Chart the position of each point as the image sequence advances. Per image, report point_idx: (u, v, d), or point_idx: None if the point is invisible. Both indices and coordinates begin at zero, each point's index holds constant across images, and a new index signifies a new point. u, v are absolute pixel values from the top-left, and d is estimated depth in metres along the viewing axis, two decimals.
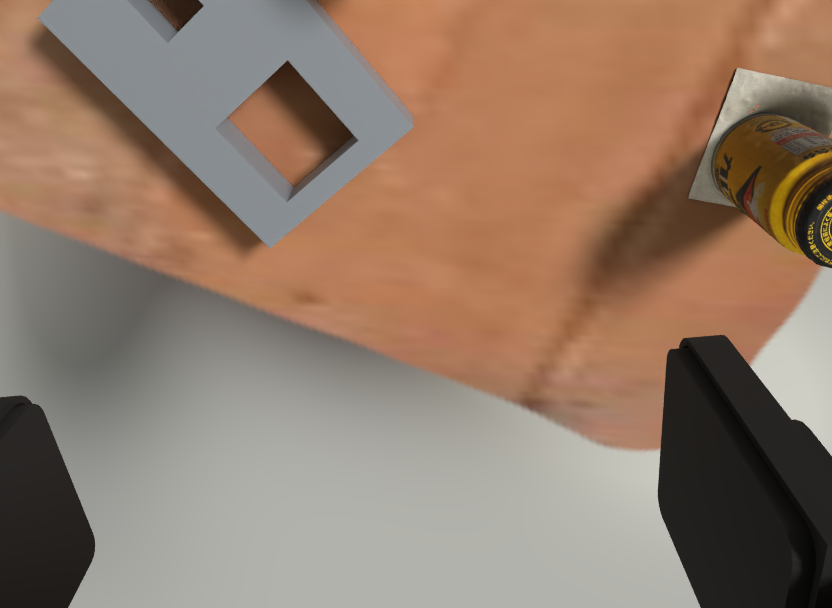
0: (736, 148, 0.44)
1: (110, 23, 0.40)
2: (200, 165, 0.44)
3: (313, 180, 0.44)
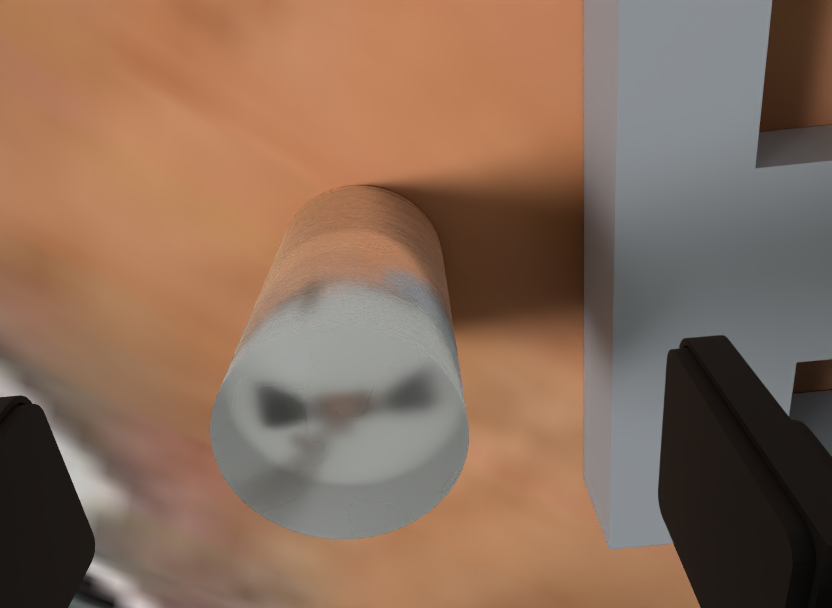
0: None
1: None
2: None
3: None
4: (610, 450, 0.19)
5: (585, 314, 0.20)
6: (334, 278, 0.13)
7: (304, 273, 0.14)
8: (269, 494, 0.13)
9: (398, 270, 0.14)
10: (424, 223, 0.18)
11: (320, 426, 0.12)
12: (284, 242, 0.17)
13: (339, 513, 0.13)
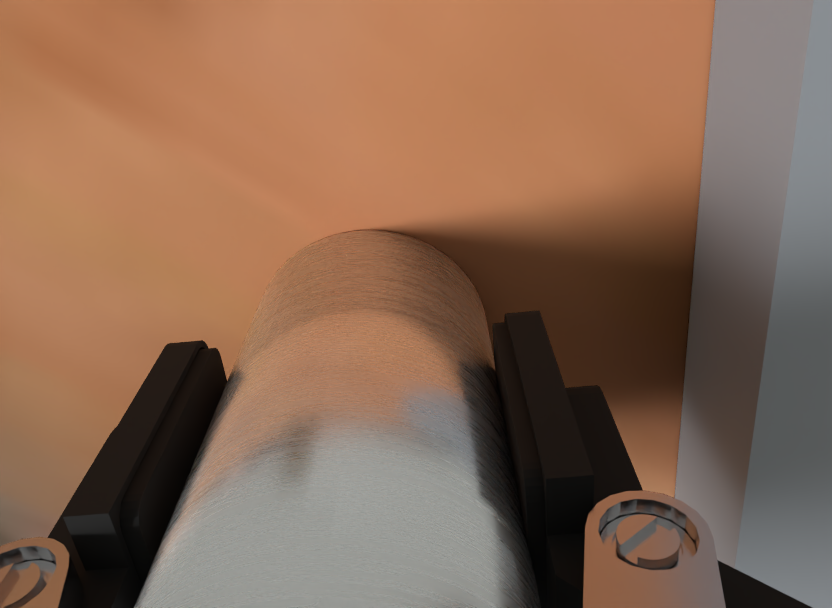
0: None
1: None
2: None
3: None
4: None
5: (685, 407, 0.14)
6: (320, 446, 0.07)
7: (273, 423, 0.08)
8: None
9: (432, 411, 0.08)
10: (464, 289, 0.12)
11: None
12: (255, 325, 0.11)
13: None
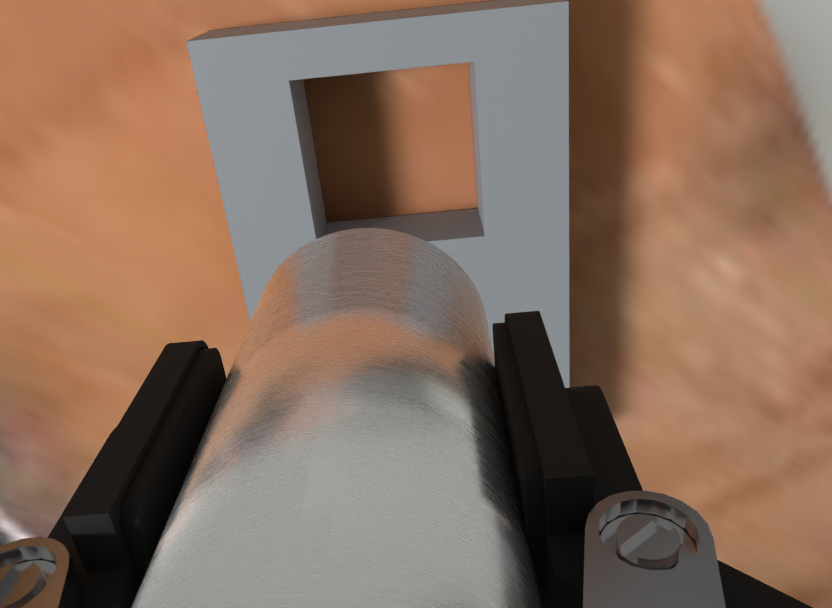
0: None
1: None
2: (550, 204, 0.25)
3: (404, 66, 0.23)
4: None
5: None
6: (320, 443, 0.07)
7: (272, 421, 0.08)
8: None
9: (431, 408, 0.08)
10: (464, 287, 0.12)
11: None
12: (254, 323, 0.11)
13: None
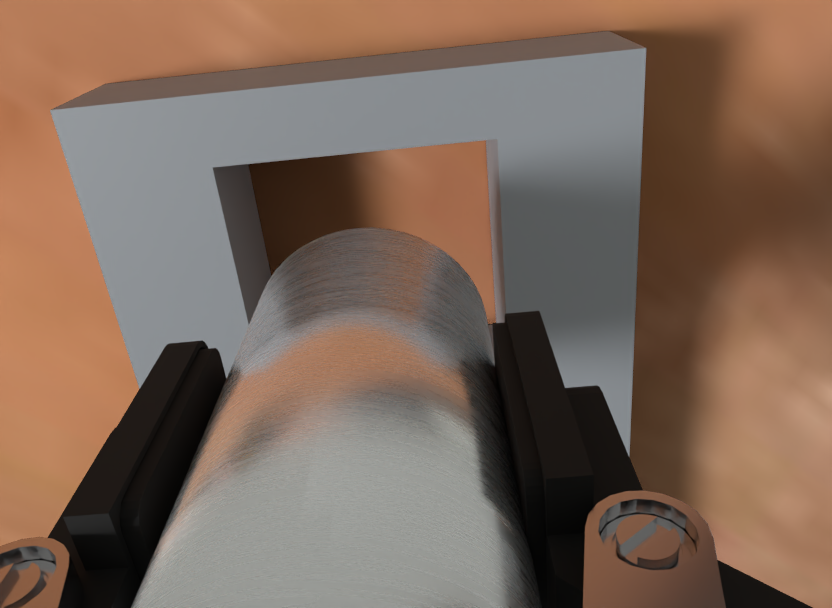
0: None
1: None
2: (606, 339, 0.17)
3: (390, 146, 0.15)
4: None
5: None
6: (320, 443, 0.07)
7: (272, 421, 0.08)
8: None
9: (431, 409, 0.08)
10: (464, 287, 0.12)
11: None
12: (254, 323, 0.11)
13: None
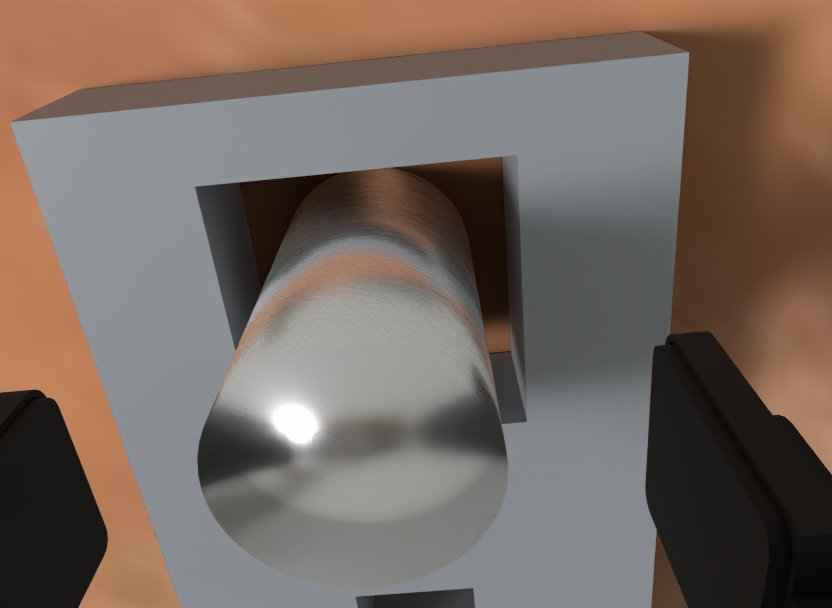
0: None
1: None
2: (636, 376, 0.15)
3: (395, 163, 0.13)
4: None
5: None
6: (346, 280, 0.11)
7: (312, 272, 0.12)
8: (269, 537, 0.11)
9: (422, 269, 0.12)
10: (449, 210, 0.16)
11: (330, 461, 0.10)
12: (290, 232, 0.15)
13: (351, 559, 0.11)
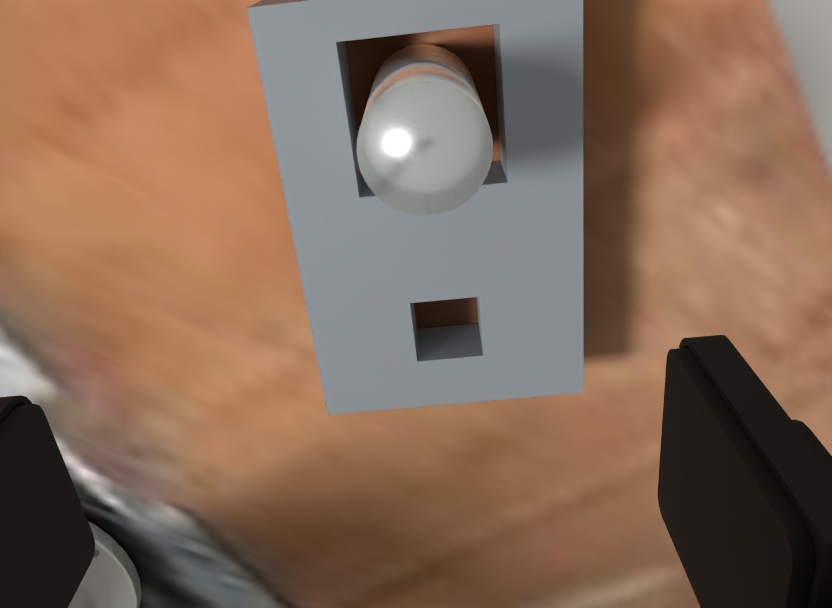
0: None
1: (518, 347, 0.33)
2: (566, 152, 0.28)
3: (438, 28, 0.26)
4: (316, 354, 0.33)
5: None
6: (419, 70, 0.24)
7: (401, 71, 0.25)
8: (385, 185, 0.24)
9: (452, 72, 0.25)
10: (464, 66, 0.29)
11: (415, 142, 0.23)
12: (380, 73, 0.28)
13: (422, 198, 0.24)
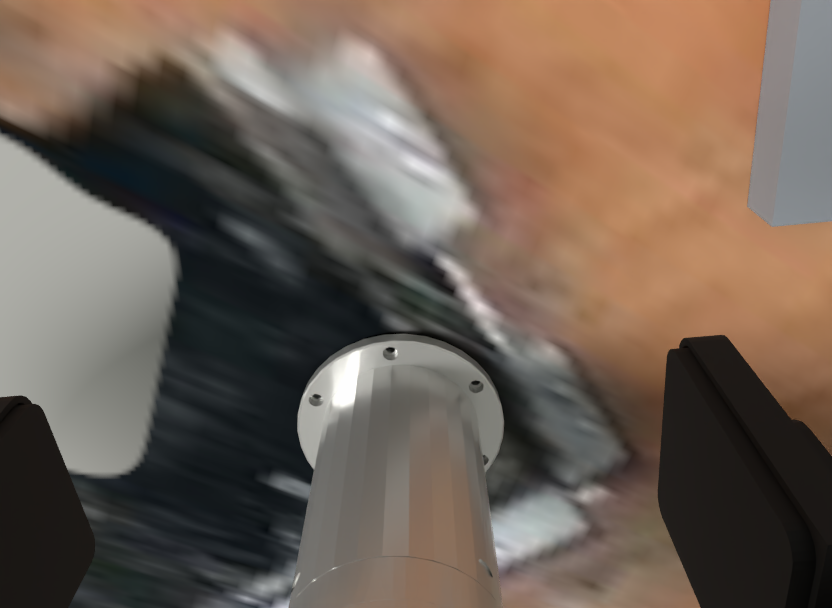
0: None
1: None
2: None
3: None
4: (780, 161, 0.35)
5: (761, 95, 0.36)
6: None
7: None
8: None
9: None
10: None
11: None
12: None
13: None
